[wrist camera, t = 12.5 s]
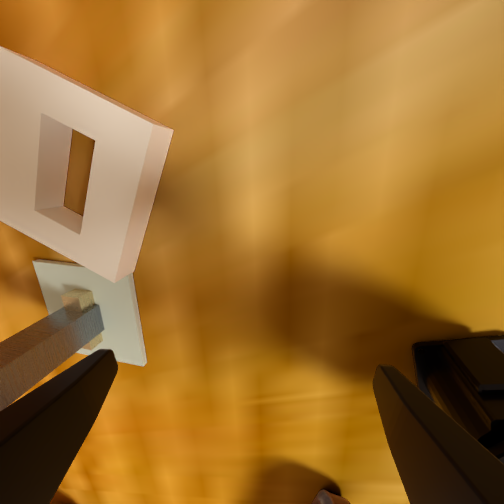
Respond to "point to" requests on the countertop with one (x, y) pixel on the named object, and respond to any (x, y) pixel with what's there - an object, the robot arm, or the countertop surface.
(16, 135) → the cover plate
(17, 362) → the t key
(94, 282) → the key mat
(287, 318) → the countertop surface
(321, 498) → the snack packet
